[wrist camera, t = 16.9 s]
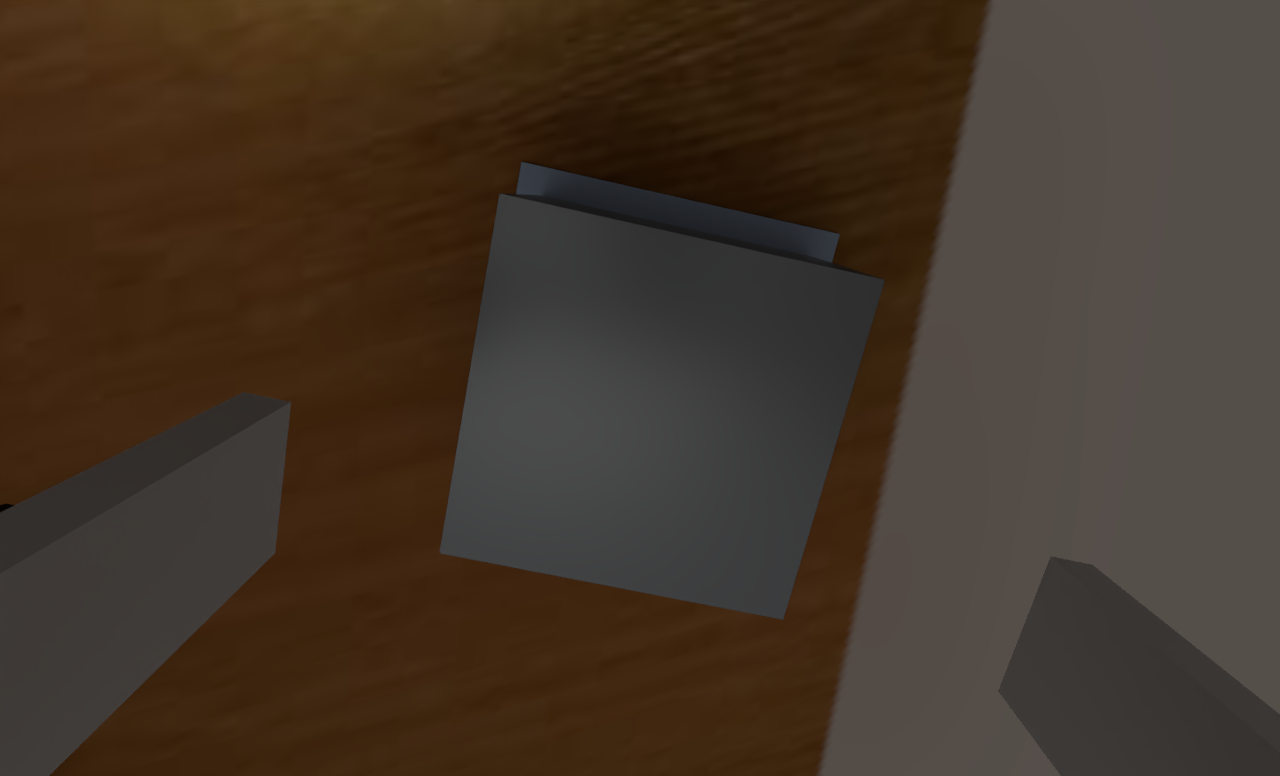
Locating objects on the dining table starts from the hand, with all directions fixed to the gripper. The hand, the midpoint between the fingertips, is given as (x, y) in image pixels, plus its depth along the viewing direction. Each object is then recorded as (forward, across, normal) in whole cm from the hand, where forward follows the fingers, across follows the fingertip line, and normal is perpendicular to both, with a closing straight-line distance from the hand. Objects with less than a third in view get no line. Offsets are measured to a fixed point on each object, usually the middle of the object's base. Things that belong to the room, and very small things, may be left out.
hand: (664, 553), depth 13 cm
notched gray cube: (+17, 0, 0) cm, 17 cm away
